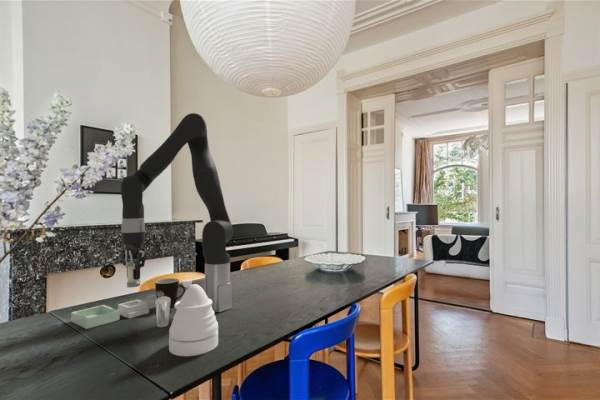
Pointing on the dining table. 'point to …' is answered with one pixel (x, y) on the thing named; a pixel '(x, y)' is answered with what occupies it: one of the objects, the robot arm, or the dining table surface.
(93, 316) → the tray
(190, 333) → the honey pot
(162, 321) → the milkshake
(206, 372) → the dining table surface
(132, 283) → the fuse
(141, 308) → the holder
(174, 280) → the coffee mug
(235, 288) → the dining table surface
